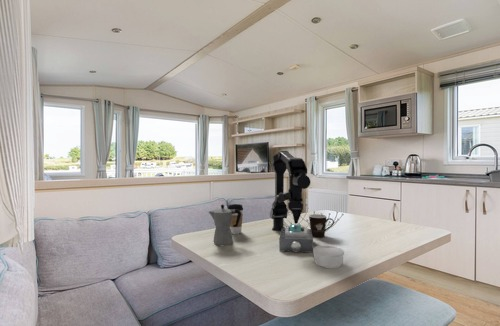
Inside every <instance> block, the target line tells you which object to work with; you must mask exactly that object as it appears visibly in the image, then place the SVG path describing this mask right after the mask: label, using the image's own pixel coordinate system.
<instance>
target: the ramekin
mask: <svg viewBox="0 0 500 326" xmlns="http://www.w3.org/2000/svg"><path fill="white" fill-rule="evenodd" d="M312 253H313V256H314V262H315V264H316V265H317V266H318V267H321V268H325V269H336V268H340V267H341V266H342V265H343V260H344V255H345V251H344V250H343V249H342V248H340V247H338V246H334V245H328V244H326V245H317V246H313V252H312Z"/></svg>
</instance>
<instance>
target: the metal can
mask: <svg viewBox="0 0 500 326" xmlns="http://www.w3.org/2000/svg"><path fill="white" fill-rule="evenodd" d="M289 226H290V231H301V227H302V226H301V224H295V223H293V224H289Z"/></svg>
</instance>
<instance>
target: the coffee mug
mask: <svg viewBox="0 0 500 326" xmlns="http://www.w3.org/2000/svg"><path fill="white" fill-rule="evenodd" d="M308 220H309V227H310V229H311V231H312V237H313V238H319V239H321V238H325V233H326V231H327V230H329V229H330V228H331V227H333V225H334V224H335V221H334V219H332V218H330V217H329V218H327V215H326V214H325V215H324V214H321V213H320V214H319V213H318V214H317V213H316V214H309V215H308ZM329 220H331V221H332V223H331V225H329V226H328V227H326V225H327V223H328V221H329Z"/></svg>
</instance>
